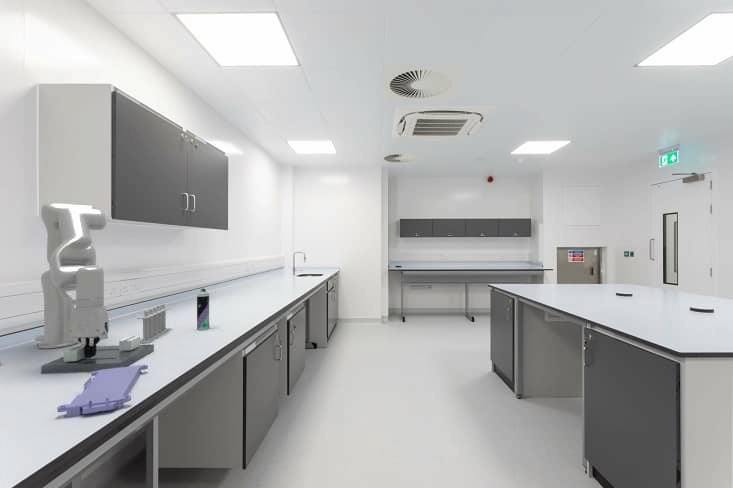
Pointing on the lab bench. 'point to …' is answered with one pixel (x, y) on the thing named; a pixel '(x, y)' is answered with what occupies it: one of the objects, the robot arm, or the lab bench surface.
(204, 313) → the spray can
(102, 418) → the lab bench surface
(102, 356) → the dark grey flat board
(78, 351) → the fader green
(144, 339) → the test tube rack
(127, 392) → the computer part
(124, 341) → the block
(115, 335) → the lab bench surface
